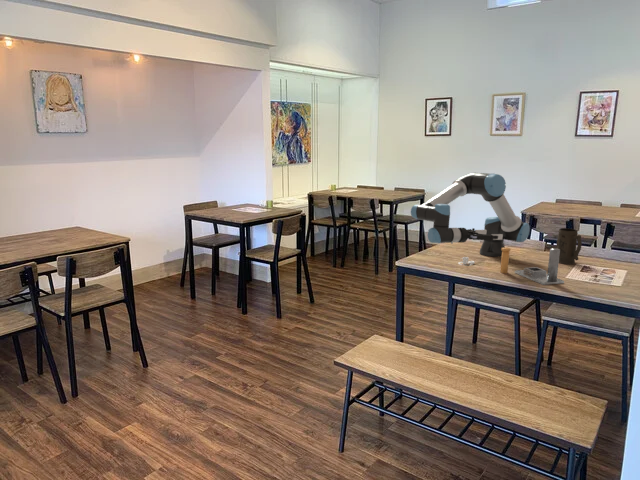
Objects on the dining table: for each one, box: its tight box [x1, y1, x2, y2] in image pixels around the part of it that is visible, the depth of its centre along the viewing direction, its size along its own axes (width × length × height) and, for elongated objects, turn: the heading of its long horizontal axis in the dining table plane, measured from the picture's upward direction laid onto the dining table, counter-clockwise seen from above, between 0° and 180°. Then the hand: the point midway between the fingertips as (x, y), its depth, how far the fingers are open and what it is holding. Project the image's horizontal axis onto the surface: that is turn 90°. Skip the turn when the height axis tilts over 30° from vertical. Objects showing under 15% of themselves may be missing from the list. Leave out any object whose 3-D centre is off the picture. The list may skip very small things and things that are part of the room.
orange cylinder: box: [500, 247, 511, 274], centre depth 247 cm, size 4×4×13 cm
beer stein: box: [555, 227, 583, 265], centre depth 266 cm, size 15×10×20 cm
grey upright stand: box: [514, 247, 565, 286], centre depth 237 cm, size 23×12×17 cm, turn 13°
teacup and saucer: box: [457, 256, 475, 266], centre depth 266 cm, size 9×8×4 cm
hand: (493, 234), depth 242 cm, fingers open, 13 cm apart
